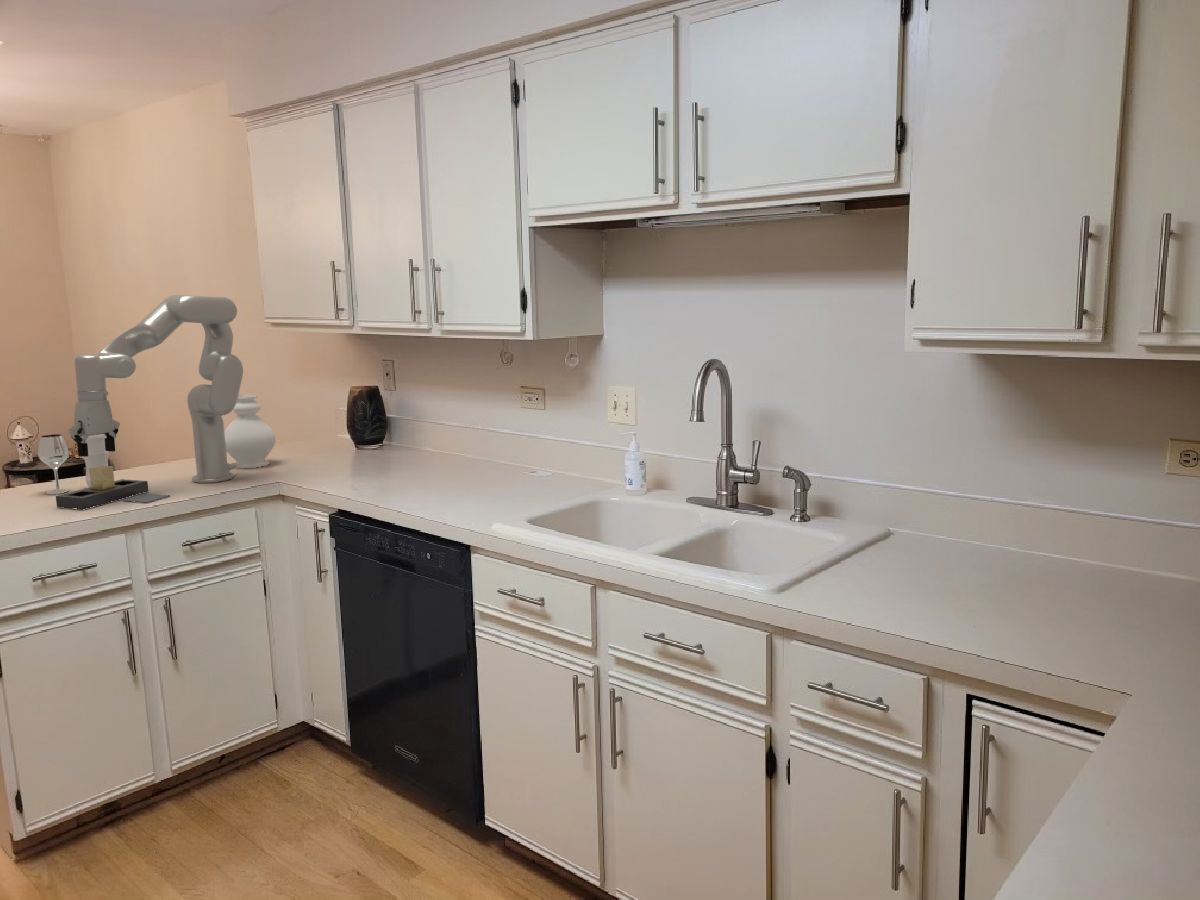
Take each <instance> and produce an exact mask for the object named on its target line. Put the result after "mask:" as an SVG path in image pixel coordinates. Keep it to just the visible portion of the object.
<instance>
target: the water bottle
mask: <svg viewBox="0 0 1200 900" xmlns="http://www.w3.org/2000/svg"><path fill="white" fill-rule="evenodd" d="M82 437H83V436H82ZM105 438H107V437H106V436H105V435H104V434H99V435H93V436H89V437H88V438H87V440H86V442H85V443H87V444H88V456H87V457H84V456H82V458H83V460H84V463H85V482H86V485H87V487H88V488H90V487H91V481H90V473H89V468H93V467H97V466H109V454H110V453H109V452H110V451H106V450H105Z"/></svg>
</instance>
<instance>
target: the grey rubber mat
mask: <svg viewBox="0 0 1200 900" xmlns="http://www.w3.org/2000/svg"><path fill="white" fill-rule="evenodd" d="M170 495H171V494H162V493H160V494H159V493H149V492H147V493H143V494H140V495H136V496H133V497H129V498H125V499H122V502H123V501H135V502H144V503H143V504H149V503H148V502H150V503H152V502H151V501H154V502H156V501H155V500H157V501H160V500H163V499H162V498H164V499H167V498H170V497H171V496H170ZM166 497H167V498H166ZM159 499H160V500H159ZM135 502H134V503H135Z"/></svg>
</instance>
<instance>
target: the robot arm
mask: <svg viewBox="0 0 1200 900" xmlns="http://www.w3.org/2000/svg"><path fill="white" fill-rule="evenodd" d="M237 315H238V309H237V305H236V304H235V302H234V301H233V300H232V299H230V298H228V297H224V296H223V297H222V296H205V295H204V296H202V295H201V296H200V295H190V294H176V295H175V294H174V295H170V296H168V297H166V298H165V299H163V300H162V301H161V302H160V303H159V304H158V305H157V306H156V307H155V308H153V310H152V311H150V313H148V314H147V315H146V316H145V317H144V318H143V319H142V320H141V321H140V322H139V323H137V324H136V325H134V326H133V327H131V328H129V329H128V330H127V331H125V332H123V333H121V334H119V336H117V337H115V338H114V339H113V340H112V341H110V342H109V343H108V344H107V345H106V346H104V348H103V349H101V350H100V351H99V352H98V353H97V354H79V355H77V356H75V358H74V369H75V370H74V371H75V381H76V391H77V402H75V404H74V415H73V419H74V420H73V422H74V423H73V425H72V426H71V427H70V428H68V433H69V435H70V436H71V439H72V440H73V441H74V444H75V443H76V444H77V456H78V457H83V456H84V457H87V456H88V444H87V443H85V442H86V440H87V438H88V437H89V436H93V435H99V434H104V435H105V436H106V438H105V450H106V451H108V452H116V443H115V439H116V438H117V434H118V432H119V428H120V425H121V422H119V421H118V420H116V419H113V414H112V408H111V405H110V401H109V400H108V395H109V392H108V391H107V382H106V379H107V378H108V379H126V378H129V377H131V376H132V375H133V374H134V373H135V371H136V369H137V367H136V365H137V364H136V362H135V360H134V358H133V357H135V356H136V355H138V354H139V353H142V352H143V351H146V350H149V349H152V348H156V347H157V346H159V345H161V344H162V343H164V342H165V341H166V340H167V339H168V337H170V336H171V335H172V334H173V333H174V332H175V331H176V330H177V329H178V328H179V327H180V326H181V325H182V324H184V323H195V324H201V325H202V328H203V330H204V342H203V343H204V344H203V347H202V350H201V351H202V352H201V355H200V359H199V360H200V361H199V365H198V372H199V375H200V377H201V378H203V379H204V380H207V381H209V382H211V384H198V385H195V386H194V387H192V388H191V389H190V390H189V392H188V395H187V397H186V398H187V400H186V401H187V408H188V411H189V415H190V418H191V424H192V434H193V437H192V438H193V445H194V446H193V447H194V457H195V458H194V459H195V467H196V469H195V470H196V474H195V475H193V476H192V477H191V480H192V482H193V483H199V484H201V483H202V484H207V483H208V484H209V483H220V481H221V482H226V481H229V479H230V480H232V479H233V478H234V473H232V472H231V471H232V470H235V469H237V468H236V467H237V465H236V464H235V463H236V462H233V463H229V462H228V457H227V454H228V453H227V451H226V443H225V430H226V429H225V424H224V420H223V416H226V415H229V414H230V413H231V412H233V409H234V407H235V405H236V402H237V398H238V396H239V395H240V389H241V384H242V381H243V375H244V368H243V367H244V366H243V365H242V364H243V363H242V362H241V360H240V359H239V357H238V356H237V355H235V354H232V350H233V344H234V333H233V330H232V329H233V328H232V327H231V325H230V323H232V322H233V321H234V320H235V319H236V317H237ZM82 436H83V437H82Z"/></svg>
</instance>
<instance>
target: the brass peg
mask: <svg viewBox="0 0 1200 900" xmlns="http://www.w3.org/2000/svg"><path fill="white" fill-rule="evenodd" d="M89 473H90V481H91V490H97V491H104V490H108V489H112V488H115V483H114V481H115V475H114V466H112V465H108V466H97V467H93V468H89Z"/></svg>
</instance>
